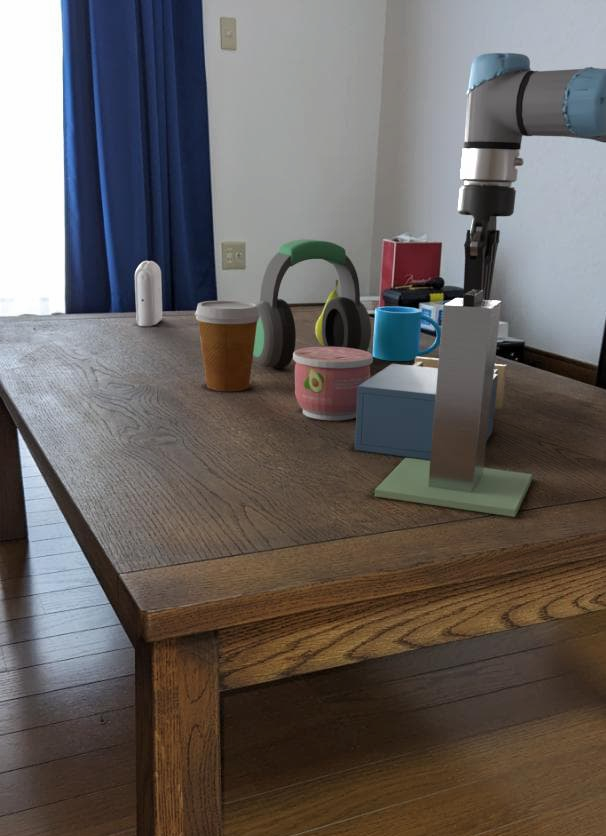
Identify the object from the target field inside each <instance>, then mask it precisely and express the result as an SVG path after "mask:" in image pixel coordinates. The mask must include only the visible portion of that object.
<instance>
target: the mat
mask: <svg viewBox="0 0 606 836" xmlns="http://www.w3.org/2000/svg"><path fill="white" fill-rule="evenodd" d="M429 469H430V460H426V459H419V458H411V457H404V459H403V460H402V461H400V463H399V464H397V466H396V467H395V468H394V469H393V470H392V471H391V472H390V473H389V474H388V475H387V476H386V477H385V478H384V479H383V481H382V482H381V483H380V484H379V485H377V487H376V488H375V489H374V497H375V498H383V499H389V500H394V501H395V500H396V501H403V502H408V503H409V502H410V503H416V504H423V505H430V506H436V507H444V508H449V509H450V508H451V509H457V510H464V511H470V512H477V513H484V514H490V515H491V514H492V515H498V516H504V517H511V518H516V516H517V514H518V512H519V510H520V508H521V506H522V503H523V502H524V501H523V500H524V498H525V497H526V495H527V492H528V491H529V488H530V486H531V483H532V481H533V473H526V472H518V471H511V470H504V469H503V470H502V469H497V468H494V469H493V468H488V467H484V468H483V476H482V477H481V479H480V481H479V482H478V484H477V485H476V487H475V488H474V490H473V492H472V493H470V492H463V491H456V490H449V489H442V488H435V487H428V480H429Z"/></svg>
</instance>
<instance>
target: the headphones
mask: <svg viewBox="0 0 606 836" xmlns="http://www.w3.org/2000/svg"><path fill="white" fill-rule="evenodd" d="M346 252H347V251H346V249H345V248H344V247H342V246H341V245H339V244H337V243H334V242H331V241H328V240H327V241H326V240H320V239H314V238H300V239H295V240H291V241H288V242H285V243H283V244H282V245H280V246H279V247H278V249H277V253H276V254H275V255H273V257H272V258H271V260H270V261H269V263H268V264H267V266H266V269H265V271H264V274H263V278H262V282H261V287H260V298H259V302H257V303H256V304H257V307H258V311H259V313H260V317H259V320H258V321H257V328H256V336H255V344H254V351H253V359H254V361H255V363H257V364H259V365H260V366H261V367H264V368H265V367H266V368H269V367H270V368H274V369H282V368H286V367H287V366H289V365H290V363H291V362H292V360H293V353H294V352H295V351H296V350H295V349H296V340H297V335H296V334H297V333H296V331H297V330H296V324H295V319H294V314H293V312H292V309H291V306H290V304H289V303H288V302H287V301H285V299H282V298H279V293H280V289H281V288H280V287H281V284H282V281H283V278H284V276H285V274H286V273H287V271H288V270H289V268H290V267H294V266H296V265H297V264H299V263H301V262H304V261H309V260H324V261H326V262H328V263H329V264H331V265H332V266H333V267H334V268H335V270H336V273H337V275H338V279H339V284H340V295H341V296H339V297H335V298H333V299H331V300H330V301H329V302H328V303H327V305H326V307H325V306H324V307H325V310H324V313H323V319H322V339H323V344H324V346H323V347H345V348H354V349H359V350H363V351H367V352H368V350H369V346H370V344H371V339H372V324H371V318H370V314H369V312H368V309H367V307H366V306H365V304H364V303H363V302H362V301H361V295H360V294H361V292H360V291H361V290H360V282H359V276H358V273H357V270H356V267H355V265H354V263H353V261H352V260H351V259H350V258H349V256H348V255H346Z"/></svg>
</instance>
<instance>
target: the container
mask: <svg viewBox="0 0 606 836" xmlns="http://www.w3.org/2000/svg"><path fill="white" fill-rule="evenodd" d="M292 360H293V361H294V362H295V365H294V387H295V388H294V394H295V399H296V401H297V404H298V406H299V407H301V409H302V414H303V415H304V416H306V417H307V418H310V419H314V420H320V421H321V420H323V421H347V420H353V419H356V412H357V393H358V386H359V385H361V384H362V383H364V382H365V381H367V380H368V379H370V378H371V364H373V362H374V357H373V353H371V352H369V351H368V350H367V351H363V350H359V349H354V348H345V347H324V346H309V347H303V348H300V349H296V350H294V353H293V358H292Z"/></svg>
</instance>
